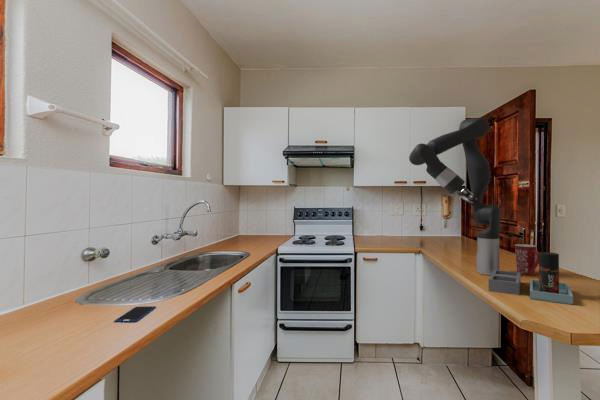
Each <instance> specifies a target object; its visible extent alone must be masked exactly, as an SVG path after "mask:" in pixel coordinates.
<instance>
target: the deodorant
mask: <svg viewBox="0 0 600 400" xmlns="http://www.w3.org/2000/svg"><path fill="white" fill-rule="evenodd" d="M538 252H539V251H538ZM538 280H539V291H540V292H548V293H556V294H559V283H560V254H559V253H556V252H550V251H548V252H547V251H540V252H539V264H538Z"/></svg>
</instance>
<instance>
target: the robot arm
mask: <svg viewBox="0 0 600 400" xmlns="http://www.w3.org/2000/svg"><path fill="white" fill-rule="evenodd" d="M489 130H490V123H489V121H488V120H487V119H486V118H484V117H473V118H467V119H466V118H465V119H464V120H462V121H461V122H460V124H459V128H458V130H455V131H451V132H448V133H444V134H442V135H440V136H438V137H435V138H434V139H431V140H429V141H428V143H418V144H417V145H416V146H415V147H414V148H413V149H412V151H411V153H409V157H408V159H409V162H410V163H411V165H414V166H422V165H424V164H425V165H426V170H425V171H426V173H427V174H429V176H431V178H433V179H434V180H435V181H436V182H437V184H438V185H440V186H441V187H442V188H443V189H444V190H445V191H447V193H449V194H450V195H453V194H454V193H457V195H458V196H459V197H460V198H461V199H462V200H464V201H465V202H467V203H468V204H470V205H471V206H472V215H473V219H474V221H475V223H477V224H483V225H484V224H485V225H488V224H489V226H488V228H486V229H484V230H479V231H478V232H477V237H476V238H477V242H476V243H477V245H476V246H477V252H476V272H477V273H478V274H481V275H485V276H491V274H492V272H493V270H501V269H500V268H501V267H500V266H501V264H500V262H501V260H500V255H501V254H500V252H501V251H500V234H501V233H500V232H501V218H502V217H501V216H502V214H501V209H500V206H498V204H483V195H484V193H485V191H486V189H487V188H488V186H489V184H490V182H491V179H492V175H491V168H490V167H491V166H490V163H489V161H488V160H487V158H486V157H485V155H484V154H483V153H482V152H481V150H480V149H479V147H478V142H477V139H481V138H483V137H485V136H486V135H488V133H489ZM459 145H462V147H463V148H462V149H463V151H464V157H465V162H466V167H467V174H468V180H469V185H470V186H469V187H470V190H471V191H470V190H469V189H468V188H466V187H463V185H464V184H465V183H466V182H465V180H464V179H463V178H462V177H461V176H459V174H457V173H456V172H455V171H454V170H452V169H451V168H450V167H448V166H447V165H446V164H444V163H443V162H442V161H441V159H439V157H438V155H441V154H442V153H445V152H447V151H449V150H451V149H453V148H455V147H457V146H459Z"/></svg>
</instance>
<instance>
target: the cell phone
mask: <svg viewBox="0 0 600 400" xmlns="http://www.w3.org/2000/svg"><path fill="white" fill-rule="evenodd" d="M155 309H157V306H153V305H152V306H149V305H147V306H146V305H145V306H142V305H141V306H135V307H133V308H131V309H130V310H128V311H127V312H126V313H123V315H120V317H118V318H117V319H115V320H114V321H113V323H114V322H121V324H123V322H124V323H125V324H126V323H134V324H135V323H138V322H140V321H141V320H142V319H144V318H145V317H146V316H148V315H149V314H150V313H151V312H153V311H154V310H155Z"/></svg>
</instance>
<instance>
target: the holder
mask: <svg viewBox="0 0 600 400" xmlns="http://www.w3.org/2000/svg"><path fill="white" fill-rule="evenodd" d="M521 281H522V274H521V272H517V271H509V270H501V269H500V270H493V272H492V274H491V275H489V277H488V292H494V293H495V292H496V293H502V294H509V295H516V296H519V295H520V291H521V284H522V282H521Z"/></svg>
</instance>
